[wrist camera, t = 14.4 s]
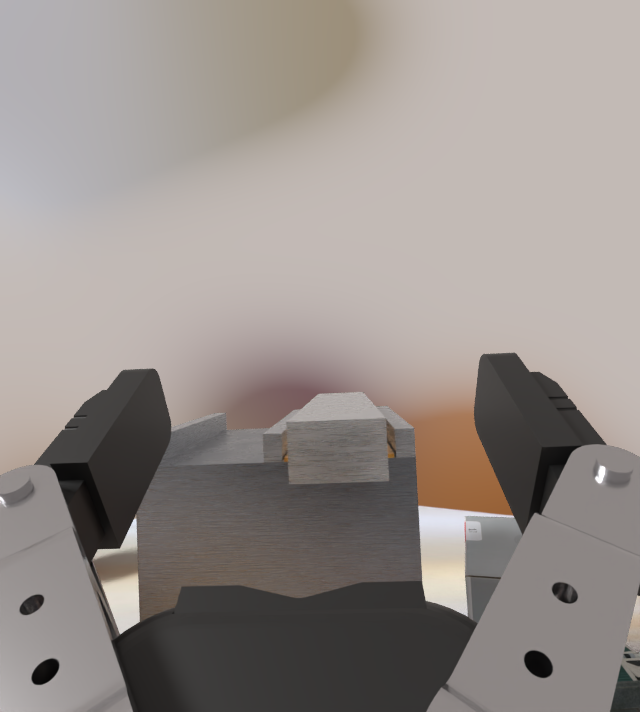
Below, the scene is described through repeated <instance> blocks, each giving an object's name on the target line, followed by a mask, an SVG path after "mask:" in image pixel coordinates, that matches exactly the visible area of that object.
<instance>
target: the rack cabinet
mask: <svg viewBox="0 0 640 712" xmlns="http://www.w3.org/2000/svg"><path fill="white" fill-rule="evenodd" d="M377 409H378V410H379V411H380V412H381V413H382V414H383V415H384V416H385V418H386V430H387V449H388V469H389V481H378V482H349V483H320V484H291V485H289V471H288V448H287V425H286V422H287V421H288V420H289V419H291V418H292V417H293V416H294V415H295V414H296V413H297V412H299V411H300V410H294V411H292V412H291V413H290V414H288V415H287V416H286V417H285V418H283V419H282V420H281V421H279V422H278V423H277V424H275V425H274V426H273V427H271V428H265V429H241V430H227V428H226V413H214V414H211V415H208V416H205V417H202V418H199V419H195V420H192V421H189V422H186V423H183V424H180V425H177V426H174V427H171V438H170V442H169V445H168V447H167V449H166V451H165V454H164V456H163V458H162V460H161V462H160V464H159V466H158V468H157V471H156V473H155V475H154V477H153V479H152V481H151V483H150V485H149V488H148V490H147V492H146V494H145V496H144V498H143V500H142V502H141V505H140V507H139V509H138V511H137V513H136V515H137V547H138V577H139V608H140V622H141V621H143V620H145V619H147V618H149V617H151V616H153V615H155V614H157V613H160V612H163V611H165V610H168V609H171V608H175V607H176V604H177V600H178V597H179V594H180V590H181V587H185V586H227V585H241V586H245V587H250V588H254V589H258V590H263V591H267V592H272V593H276V594H280V595H285V596H289V597H294V598H304V597H308V596H312V595H316V594H320V593H323V592H327V591H331V590H335V589H338V588H342V587H346V586H350V585H353V584H357V583H361V582H395V581H422V570H421V551H420V532H419V513H418V494H417V476H416V456H415V437H414V428H413V427H412V426H411V425H410V424H408V423H407V422H406V421H405V420H403V419H402V418H401V417H400V416H398V415H397V414H396V413H395V412H394V411H392V410H391V409H390V408H389V407H388V406H377Z"/></svg>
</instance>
